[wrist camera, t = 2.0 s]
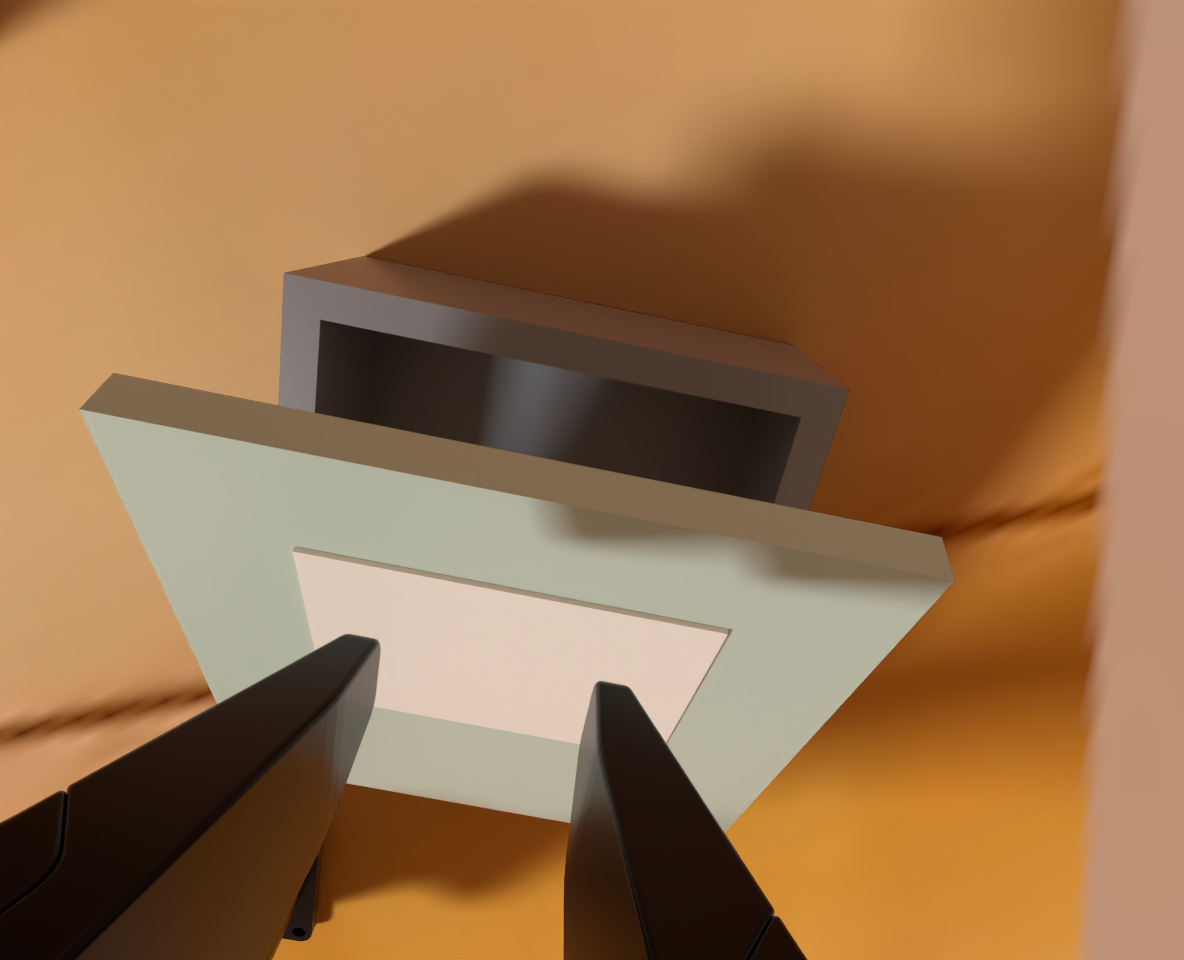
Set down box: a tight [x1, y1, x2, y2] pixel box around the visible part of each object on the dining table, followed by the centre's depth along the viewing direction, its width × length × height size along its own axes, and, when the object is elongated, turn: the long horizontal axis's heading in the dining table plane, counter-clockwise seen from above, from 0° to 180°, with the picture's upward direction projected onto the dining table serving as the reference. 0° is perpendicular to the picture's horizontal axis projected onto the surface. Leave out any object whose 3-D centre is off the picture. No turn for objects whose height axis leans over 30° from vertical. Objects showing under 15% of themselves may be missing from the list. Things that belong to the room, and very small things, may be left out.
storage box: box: [278, 256, 849, 511], centre depth 19 cm, size 12×12×5 cm
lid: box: [79, 373, 955, 833], centre depth 15 cm, size 12×12×1 cm
